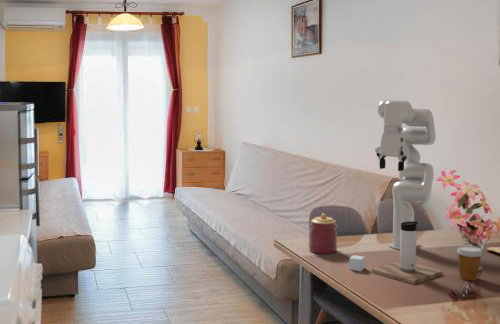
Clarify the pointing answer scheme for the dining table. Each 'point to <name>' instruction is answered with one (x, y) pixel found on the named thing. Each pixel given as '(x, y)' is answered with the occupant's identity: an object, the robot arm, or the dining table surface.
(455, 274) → the dining table surface
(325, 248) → the canister
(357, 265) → the grey-blue block
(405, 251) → the travel mug
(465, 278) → the disposable coffee cup
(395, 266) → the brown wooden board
